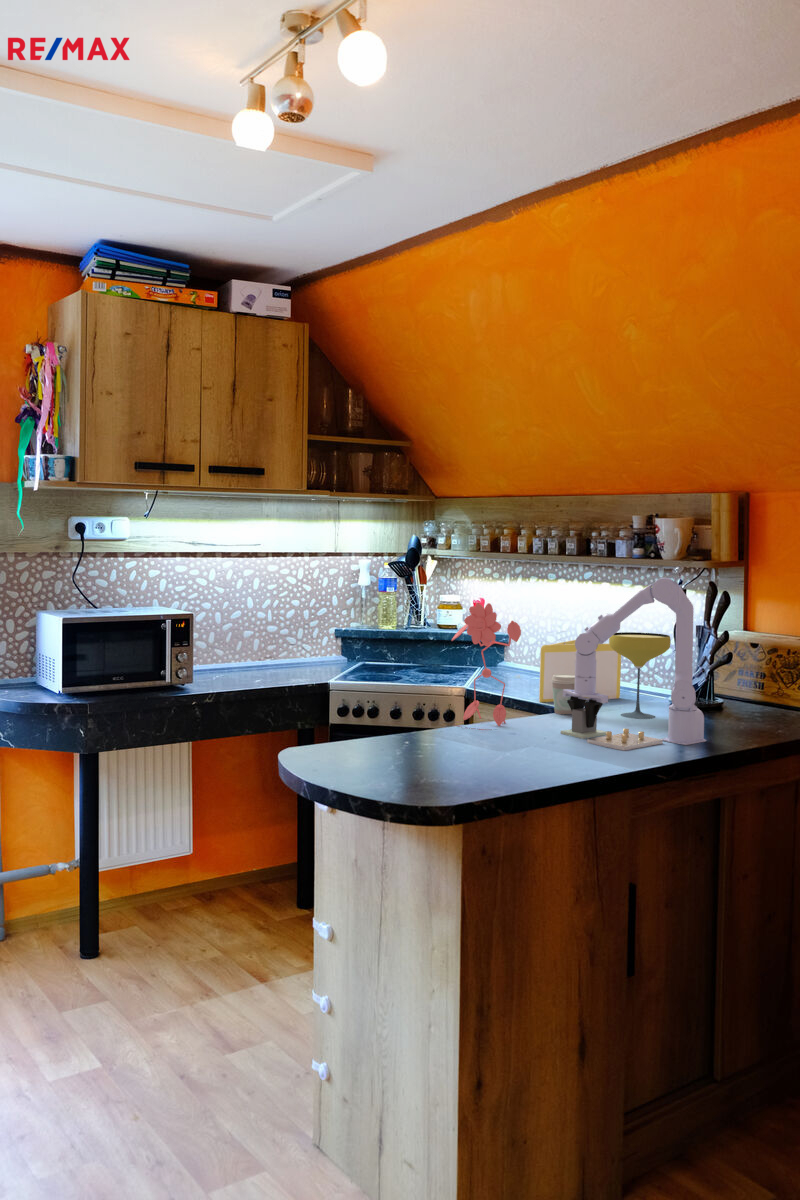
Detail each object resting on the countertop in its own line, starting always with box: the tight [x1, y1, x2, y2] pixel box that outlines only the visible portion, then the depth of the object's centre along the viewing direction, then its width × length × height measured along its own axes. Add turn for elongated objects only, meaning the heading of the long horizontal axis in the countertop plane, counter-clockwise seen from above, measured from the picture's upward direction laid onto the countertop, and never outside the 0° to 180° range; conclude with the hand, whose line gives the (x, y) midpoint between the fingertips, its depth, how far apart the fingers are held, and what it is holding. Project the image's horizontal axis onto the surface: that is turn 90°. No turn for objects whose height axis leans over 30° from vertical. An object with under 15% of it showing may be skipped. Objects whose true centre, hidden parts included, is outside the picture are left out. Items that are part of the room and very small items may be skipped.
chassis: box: [586, 728, 664, 752], centre depth 262 cm, size 16×12×3 cm
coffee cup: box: [551, 674, 575, 715], centre depth 304 cm, size 8×8×12 cm
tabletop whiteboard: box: [538, 639, 622, 703], centre depth 334 cm, size 35×22×20 cm, turn 149°
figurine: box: [450, 602, 522, 731], centre depth 284 cm, size 15×26×35 cm, turn 45°
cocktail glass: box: [608, 631, 672, 720], centre depth 302 cm, size 18×18×25 cm
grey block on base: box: [560, 707, 607, 740], centre depth 273 cm, size 10×8×7 cm
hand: (584, 726), depth 273 cm, fingers closed on grey block on base, 3 cm apart
